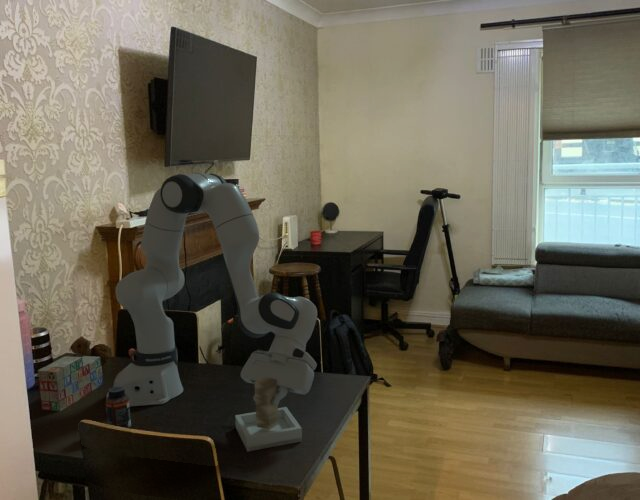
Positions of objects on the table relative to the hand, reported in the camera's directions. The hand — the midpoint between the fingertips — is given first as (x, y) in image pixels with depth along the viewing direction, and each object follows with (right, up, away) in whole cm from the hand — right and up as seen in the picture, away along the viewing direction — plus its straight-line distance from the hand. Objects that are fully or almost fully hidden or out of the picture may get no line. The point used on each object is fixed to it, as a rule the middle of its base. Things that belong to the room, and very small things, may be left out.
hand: (265, 402), depth 157 cm
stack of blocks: (-61, -6, +31) cm, 69 cm away
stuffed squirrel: (-63, -3, +50) cm, 80 cm away
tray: (+1, -9, +2) cm, 9 cm away
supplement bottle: (-39, -9, +7) cm, 41 cm away
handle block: (+1, -6, +2) cm, 6 cm away
